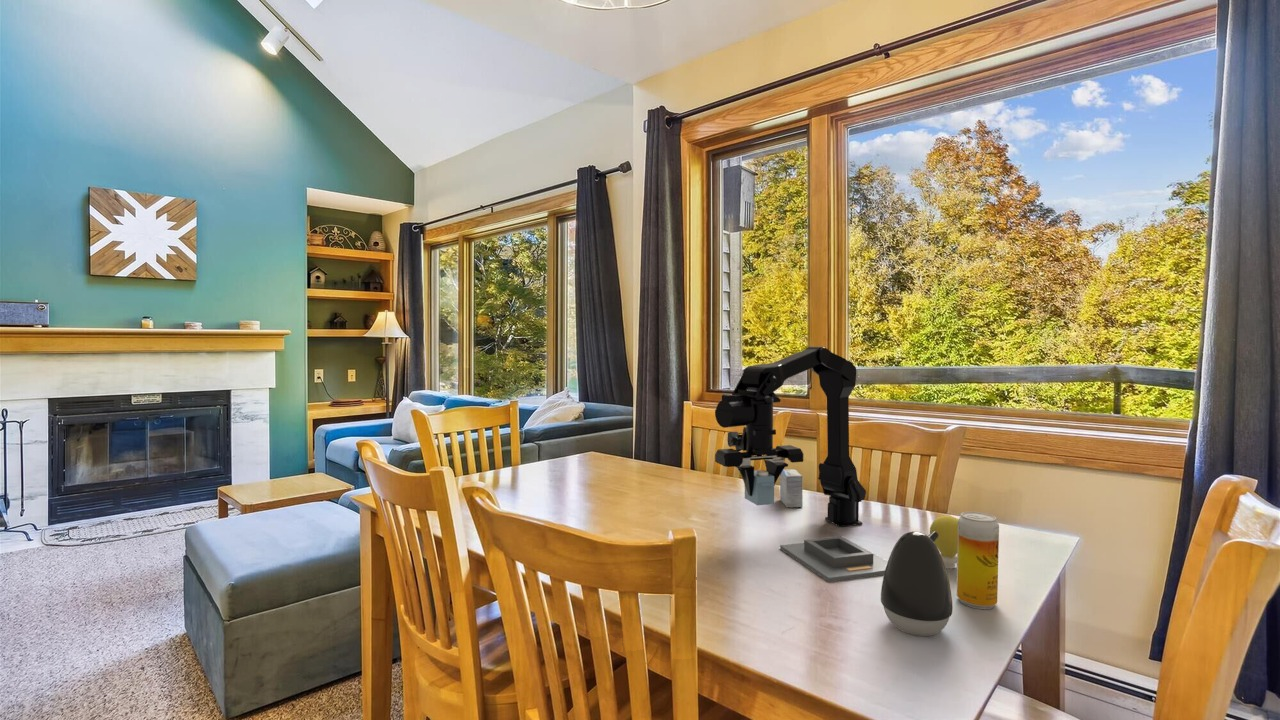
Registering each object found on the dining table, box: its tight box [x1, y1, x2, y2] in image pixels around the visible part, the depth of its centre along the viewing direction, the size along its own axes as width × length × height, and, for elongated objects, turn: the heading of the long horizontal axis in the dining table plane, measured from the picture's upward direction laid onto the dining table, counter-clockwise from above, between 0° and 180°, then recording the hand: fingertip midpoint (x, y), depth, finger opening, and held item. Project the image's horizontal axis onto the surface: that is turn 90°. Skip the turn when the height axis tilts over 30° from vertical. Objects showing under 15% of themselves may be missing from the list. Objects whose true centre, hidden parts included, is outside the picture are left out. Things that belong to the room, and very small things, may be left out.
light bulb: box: [929, 515, 959, 569], centre depth 119 cm, size 7×7×10 cm
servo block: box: [744, 469, 776, 506], centre depth 131 cm, size 4×8×7 cm, turn 16°
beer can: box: [956, 511, 1000, 610], centre depth 102 cm, size 6×6×15 cm
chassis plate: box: [779, 535, 888, 583], centre depth 122 cm, size 16×18×3 cm
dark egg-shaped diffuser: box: [880, 530, 954, 637], centre depth 94 cm, size 10×10×15 cm
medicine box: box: [779, 469, 804, 508], centre depth 163 cm, size 8×4×9 cm, turn 179°
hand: (759, 494), depth 131 cm, fingers closed on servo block, 4 cm apart
